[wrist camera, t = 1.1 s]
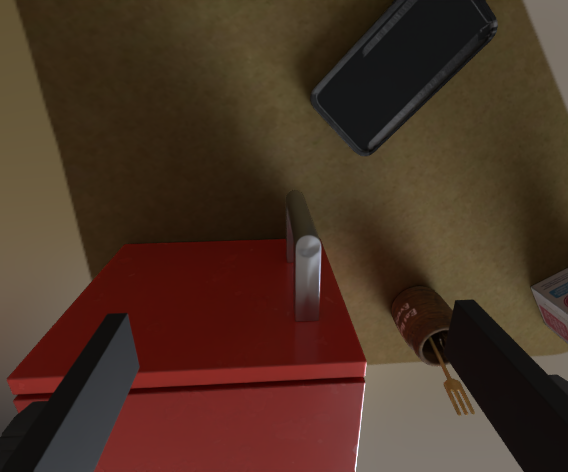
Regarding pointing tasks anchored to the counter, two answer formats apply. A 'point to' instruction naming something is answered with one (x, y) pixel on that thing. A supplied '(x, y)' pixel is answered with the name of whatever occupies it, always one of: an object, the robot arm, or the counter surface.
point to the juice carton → (554, 302)
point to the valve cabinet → (235, 427)
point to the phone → (400, 67)
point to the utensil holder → (428, 332)
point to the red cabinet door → (212, 313)
